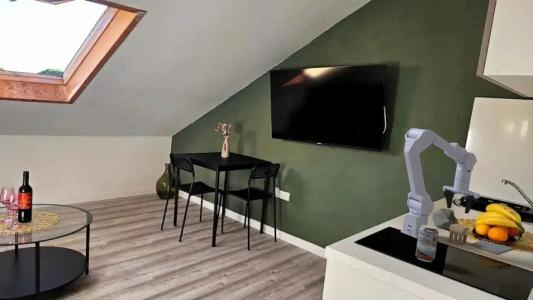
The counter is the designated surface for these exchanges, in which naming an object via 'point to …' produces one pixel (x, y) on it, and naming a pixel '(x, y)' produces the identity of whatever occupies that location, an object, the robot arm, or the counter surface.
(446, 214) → the stone
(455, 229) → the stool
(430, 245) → the beverage can
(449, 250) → the counter surface
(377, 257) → the counter surface
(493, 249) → the mat
